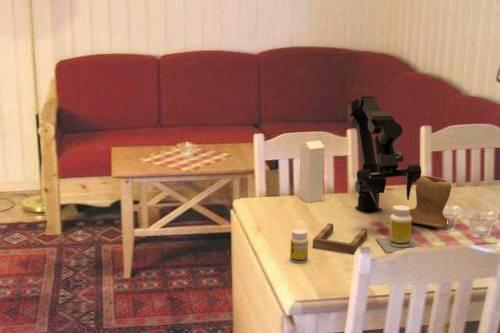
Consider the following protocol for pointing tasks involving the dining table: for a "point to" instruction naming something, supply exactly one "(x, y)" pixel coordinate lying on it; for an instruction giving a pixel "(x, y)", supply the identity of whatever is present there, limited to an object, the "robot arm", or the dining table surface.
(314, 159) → the milk
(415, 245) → the coaster
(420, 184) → the brown boot
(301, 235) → the supplement bottle
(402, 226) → the pill bottle
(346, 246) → the open wooden u-frame
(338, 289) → the dining table surface
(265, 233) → the dining table surface
